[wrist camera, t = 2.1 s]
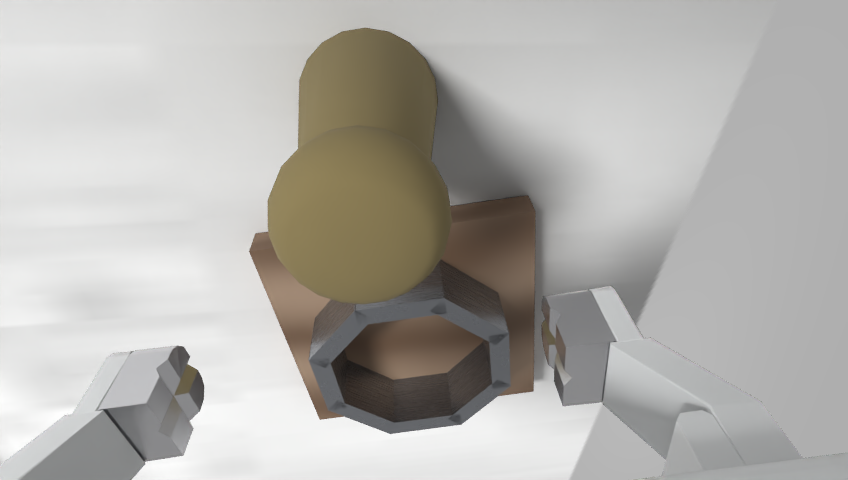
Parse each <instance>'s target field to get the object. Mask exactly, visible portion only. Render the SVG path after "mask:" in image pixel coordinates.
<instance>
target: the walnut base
mask: <svg viewBox="0 0 848 480" xmlns="http://www.w3.org/2000/svg"><path fill="white" fill-rule="evenodd" d="M450 209H451V217H452V224H451V228H450V232H449V236H448V240H447V244H446V248H445V252H444V255H443V256H442V258H441V260H443V261H445V262H446V263H448V264H450V265H451V266H453V267H455V268H457V269H458V270H460V271H462V272H464V273H465V274H467V275H469V276H470V277H472V278H474V279H476V280H477V281H479V282H481V283H482V284H484V285H486V286H488V287H489V288H491V289H493V290H494V291H496V292H498V294H499V298H500V301H501V305H502V309H503V312H504V316H505V319H506V323H507V327H508V330H509V349H510V380H511V386H510V387H509V388H508V389H506V390H505V391H504V392H502V393H501V394H500V395H499V396H502V395H509V394H517V393H525V392H532V391H533V385H534V296H535V209H534V207H533V205H532V203H531V201H530V198H529V196H528V195H527V196H520V197H513V198H506V199H499V200H492V201H485V202H478V203H470V204H463V205H456V206H450ZM249 252H250V255H251V257H252V259H253V262H254V264H255V266H256V269H257V271H258V274H259V276H260V278H261V281H262V283H263V286H264V288H265V290H266V293H267V295H268V297H269V300H270V302H271V305H272V307H273V309H274V312H275V314H276V316H277V319H278V321H279V324H280V326H281V328H282V331H283V333H284V335H285V338H286V340H287V343H288V345H289V347H290V350H291V352H292V354H293V357H294V359H295V362H296V364H297V366H298V369H299V371H300V374H301V376H302V378H303V381H304V383H305V385H306V388H307V390H308V393H309V395H310V397H311V400H312V402H313V404H314V407H315V409H316V412H317V414H318V416H319V419H320V420H321V419H328V418H336V417H343V416H342V415H339V414H337V413H334V412H331V411H328V408H327V406H326V403H325V401H324V398H323V396H322V393H321V391H320V388H319V386H318V383H317V381H316V378H315V376H314V373H313V371H312V368H311V365H310V363H309V361H308V359H309V353H310V346H311V340H312V333H313V327H314V320H315V317H316V316H317V315H318V314H319V312H320V311H321V310H322V309H323V308H324V307H325V306H326V304H327V303H328V302H329V301H330V300H331V299H328V298H325V297H322V296H319V295H317V294H316V293H314V292H312V291H311V290H309V289H308V288H306V287H305V286H303V285H301V284H300V283H299V282H298V281H297V280H296V279H295V278H294V277H293V276H292V274H291V273H290V272H289V271H288V270H287V269H286V268H285V266H284V265H283V264H282V263H281V262H280V260H279V259H278V257H277V255H276V252H275V250H274V247H273V245H272V242H271V240H270V238H269V232H264V233H256V234H255V237H254V239H253V242H252V245H251V248H250V251H249ZM482 342H483V338H481V337H479V336H477V335H475V334H473V333H471V332H469V331H467V330H465V329H464V328H462V327H460V326H458V325H456V324H454V323H452V322H450V321H448V320H446V319H444V318H442V317H441V316H439V315H433V316H426V317H418V318H411V319H404V320H396V321H389V322H381V323H374V324H368V325H367V326H366V327H365V328H364V329H363V330H362V331H361V332H360V333H359V334H358V335H357V336H356V337H355V338H354V339H353V340H352V341H351V342H350V343H349V344H348V346H347V347H346V348H345V352H346V356H347V359H348V360H349V361H352V362H354V363H356V364H359V365H361V366H363V367H366V368H368V369H370V370H372V371H375V372H377V373H379V374H382V375H384V376H386V377H389V378H391V379H393V380H395V379H403V378H410V377H418V376H425V375H433V374H440V373H447V372H448V371H450V370H451V369H452V368H453V367H454V366H455V365H456V364H458V363H459V362H460V361H461V360H462V359H463V358H465V357H466V356H467V355H468V354H469V353H470V352H472V351H473V350H474V349H475V348H476V347H477V346H479V345H480V344H481V343H482Z"/></svg>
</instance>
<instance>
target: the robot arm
mask: <svg viewBox="0 0 848 480" xmlns="http://www.w3.org/2000/svg"><path fill="white" fill-rule="evenodd" d="M542 311H543V314H544V317H545V320H544V322H543V323H542V340H543V347H544V351H545V355H546V358H547V361H548V364H549V366H551V367H552V368H554V382H555V385H556V388H557V391H558V393H559V396H560V399H561V402H562V405H563V406H569V405H579V404H589V403H599V402H603V405H604V406H605V407H607V408H608V409H609V410H610V411H611V412H613V414H615V415H616V416H617V417H618V418H619V419H620V420H621V421H622V422H624V423H625V424H626V425H627V426H628V427H629V428H630V429H632V430H633V431H634V432H635V433H636V434H637V435H638V436H640V437H641V438H642V439H643V440H644V441H645V442H646V443H647V444H648V445H650V446H651V447H652V448H653V449H654V450H655V451H657V452H658V453H659V454H660V455H661V456H662V457H663V458H664V459H666V462H665V466H664V470H663V473H662V476H659V477H650V478H643V479H634V480H848V453H841V454H833V455H826V456H817V457H809V458H802V456H801V455H800V454H799V452H798V451H797V449H796V448H795V447H794V445H793V444H792V443H791V441H790V440H789V439H788V437H787V436H786V435H785V433H784V432H783V430H782V429H781V428H780V426H779V425H778V424H777V422H776V421H775V420H774V418H773V417H772V415H771V414H770V413H769V412H768V410H767V409H766V407H765V406H764V405H763V403H762V402H761V401H760V400H758V399H756V398H755V397H753V396H751V395H749V394H748V393H746V392H744V391H742V390H741V389H739V388H737V387H735V386H734V385H732V384H730V383H729V382H727V381H725V380H723V379H722V378H720V377H718V376H716V375H715V374H713V373H711V372H710V371H708V370H706V369H704V368H702V367H701V366H699V365H697V364H696V363H694V362H692V361H690V360H689V359H687V358H685V357H684V356H682V355H680V354H678V353H677V352H675V351H673V350H671V349H670V348H668V347H666V346H664V345H663V344H661V343H659V342H658V341H656V340H654V339H652V338H643V336H642V334H641V333H640V331H639V329H638V328H637V326H636V324H635V323H634V321H633V319H632V317H631V316H630V314H629V312H628V311H627V309H626V307H625V306H624V304H623V302H622V300H621V299H620V297H619V295H618V294H617V292H616V290H615V289H614V288H613V287H611V286H607V287H600V288H594V289H588V290H582V291H575V292H568V293H561V294H554V295H547V296H543V299H542ZM189 358H190V356H189V354H188V353H187V351H186V350H185V348H184V347H182V346H170V347H161V348H152V349H143V350H135V351H130V352H120V353H113V354H112V355H110V356H109V357H107V358H106V360H105V362H104V363H103V365H102V366H101V368H100V370H99V371H98V373H97V375H96V376H95V378H94V379H93V381H92V383H91V384H90V386H89V388H88V389H87V391H86V392H85V394H84V396H83V397H82V399H81V401H80V402H79V404H78V405H77V407H76V409H75V410H74V412H73V414H70V415H65V416H63V417H62V418H61V419H60V420H58V421H57V422H56V423H54V424H53V425H52V426H50V427H49V428H48V429H47V430H45V431H44V432H43V433H41V434H40V435H39V436H37V437H36V438H35V439H33V440H32V441H31V442H30V443H28V444H27V445H26V446H24V447H23V448H22V449H20V450H19V451H18V452H17V453H15V454H14V455H13V456H11V457H10V458H9V459H7V460H6V461H5V462H4V463H2V464H1V465H0V480H131V479H132V478H133V477H134V476H135V475H136V474H137V473H138V472H139V470H140V469H141V468H142V467H143V466H144V465H145V462H146V461H152V460H158V459H165V458H171V457H177V456H183V455H184V452H185V450H186V447H187V444H188V442H189V439H190V436H191V434H192V431H193V427H192V425H191V422H190V420H191V419H192V418H193V417H194V416H195V415H196V414H197V413H198V412H199V411H200V409H201V406H202V403H203V400H204V384H203V380H202V377H201V375H200V373H199V372H198V370H197V369H195V368H193V367H191V366H190V365H188V364H187V363H188V361H189Z"/></svg>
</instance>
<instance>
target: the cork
mask: <svg viewBox="0 0 848 480" xmlns="http://www.w3.org/2000/svg"><path fill="white" fill-rule="evenodd" d="M437 103H438V98H437V90H436V83H435V78H434V76H433V74H432V72H431V70H430V68H429V66H428V64H427V61H426V59H425V58H424V57H423V56H422V55H421V54H420V53H419V52H418V51H417V50H416V49H415V48H414V47H413V46H412V45H411V44H410V43H409V42H407V41H405V40H403V39H402V38H400V37H398V36H396V35H394V34H392V33H390V32H388V31H381V30H375V29H369V28H361V29H355V30H349V31H343V32H341V33H339V34H337V35H335V36H333V37H332V38H330V39H328V40H326V41H324V42H323V43H321V45H320V46H319V47H318V48H317V49H316V50H315V51H314V53H313V54H312V55H311V56H310V57H309V58H308V60H307V62H306V65H305V67H304V70H303V72H302V75H301V78H300V82H299V128H298V150H297V151H296V152H295V153H294V154H293V155H292V156H291V157H290V158H289V159H288V160H287V161H286V162H285V163H284V164H283V165H282V166H281V169H280V171H279V174H278V176H277V179H276V181H275V183H274V186H273V188H272V191H271V194H270V196H269V199H268V231H269V238H270V240H271V242H272V245H273V247H274V250H275V252H276V255H277V257H278V259H279V260H280V262H281V263H282V264H283V265H284V266H285V268H286V269H287V270H288V271H289V272H290V273H291V274H292V276H293V277H294V278H295V279H296V280H297V281H298V282H299V283H300V284H301V285H303V286H305V287H306V288H308V289H309V290H311V291H312V292H314V293H316V294H317V295H319V296H322V297H325V298H328V299H332V300H335V301H338V302H341V303H354V304H370V303H377V302H383V301H388V300H391V299H393V298H395V297H398V296H400V295H403V294H405V293H408V292H409V291H410V290H412V289H413V288H414V287H415V286H417V285H418V284H419V283H421V282H422V281H423V280H424V279H425V278H426V277H428V276H429V275H430V274H431V272H432V271H433V270H434V268H435V267H436V265H437V264H438V262H439V261H440V259H441V258H442V256H443V255H444V252H445V248H446V244H447V240H448V236H449V232H450V228H451V224H452V217H451V209H450V201H449V195H448V191H447V187H446V185H445V183H444V181H443V179H442V177H441V175H440V174H439V172H438V170H437V168H436V166H435V164H434V163H433V162H432V161H431V156H432V147H433V138H434V129H435V120H436V112H437Z"/></svg>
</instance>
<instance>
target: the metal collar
mask: <svg viewBox="0 0 848 480" xmlns="http://www.w3.org/2000/svg"><path fill="white" fill-rule="evenodd" d="M433 315H439V316H441V317H442V318H444V319H446V320H448V321H450V322H452V323H454V324H456V325H458V326H460V327H462V328H464V329H465V330H467V331H469V332H471V333H473V334H475V335H477V336H479V337H481V338H483V342H482V343H481V344H480V345H479V346H477V347H476V348H475V349H474V350H473V351H472V352H470V353H469V354H468V355H467V356H466V357H465V358H463V359H462V360H461V361H460V362H459V363H458V364H456V365H455V366H454V367H453V368H452V369H451V370H450V371H448V372H447V373H440V374H433V375H425V376H418V377H410V378H403V379H395V380H393V379H391V378H389V377H386V376H384V375H382V374H379V373H377V372H375V371H372V370H370V369H368V368H366V367H363V366H361V365H359V364H356V363H354V362H352V361H349V360H348V359H347V356H346V352H345V348H346V347H347V346H348V344H349V343H350V342H351V341H352V340H353V339H354V338H355V337H356V336H357V335H358V334H359V333H360V332H361V331H362V330H363V329H364V328H365V327H366V326H367V325H368V324H374V323H381V322H389V321H396V320H404V319H411V318H418V317H426V316H433ZM308 361H309V363H310V365H311V368H312V371H313V373H314V376H315V378H316V381H317V383H318V386H319V388H320V391H321V393H322V396H323V398H324V401H325V403H326V406H327V408H328V411H331V412H334V413H337V414H339V415H342V416H345V417H347V418H350V419H353V420H355V421H358V422H360V423H363V424H366V425H368V426H371V427H374V428H376V429H379V430H381V431H384V432H387V433H389V434H393V433H400V432H408V431H415V430H423V429H431V428H438V427H446V426H453V425H461V424H462V423H464V422H465V421H466V420H468V419H469V418H470V417H471V416H473V415H474V414H475V413H477V412H478V411H479V410H481V409H482V408H483V407H484V406H486V405H487V404H488V403H490V402H491V401H492V400H493V399H495V398H496V397H497V396H499V395H500V394H501V393H502V392H504V391H505V390H506V389H508V388H509V387H510V386H511V380H510V349H509V330H508V327H507V323H506V319H505V316H504V312H503V309H502V305H501V301H500V298H499V294H498V292H496V291H494V290H493V289H491V288H489V287H488V286H486V285H484V284H482V283H481V282H479V281H477V280H476V279H474V278H472V277H470V276H469V275H467V274H465V273H464V272H462V271H460V270H458V269H457V268H455V267H453V266H451V265H450V264H448V263H446V262H445V261H443V260H441V259H440V261H439V262H438V264H437V265H436V267H435V268H434V270H433V271H432V272H431V274H430V275H429V276H428V277H426V278H425V279H424V280H423V281H422V282H421V283H419V284H418V285H417V286H415V287H414V288H413V289H412V290H410V291H409V292H408V293H405V294H403V295H400V296H398V297H395V298H393V299H391V300H388V301H383V302H377V303H370V304H354V303H341V302H338V301H335V300H332V299H331V300H330V301H329V302H328V303H327V304H326V306H325V307H324V308H323V309H322V310H321V311H320V312H319V314H318V315H317V316H316V317H315V320H314V327H313V333H312V340H311V346H310V353H309V359H308Z"/></svg>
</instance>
